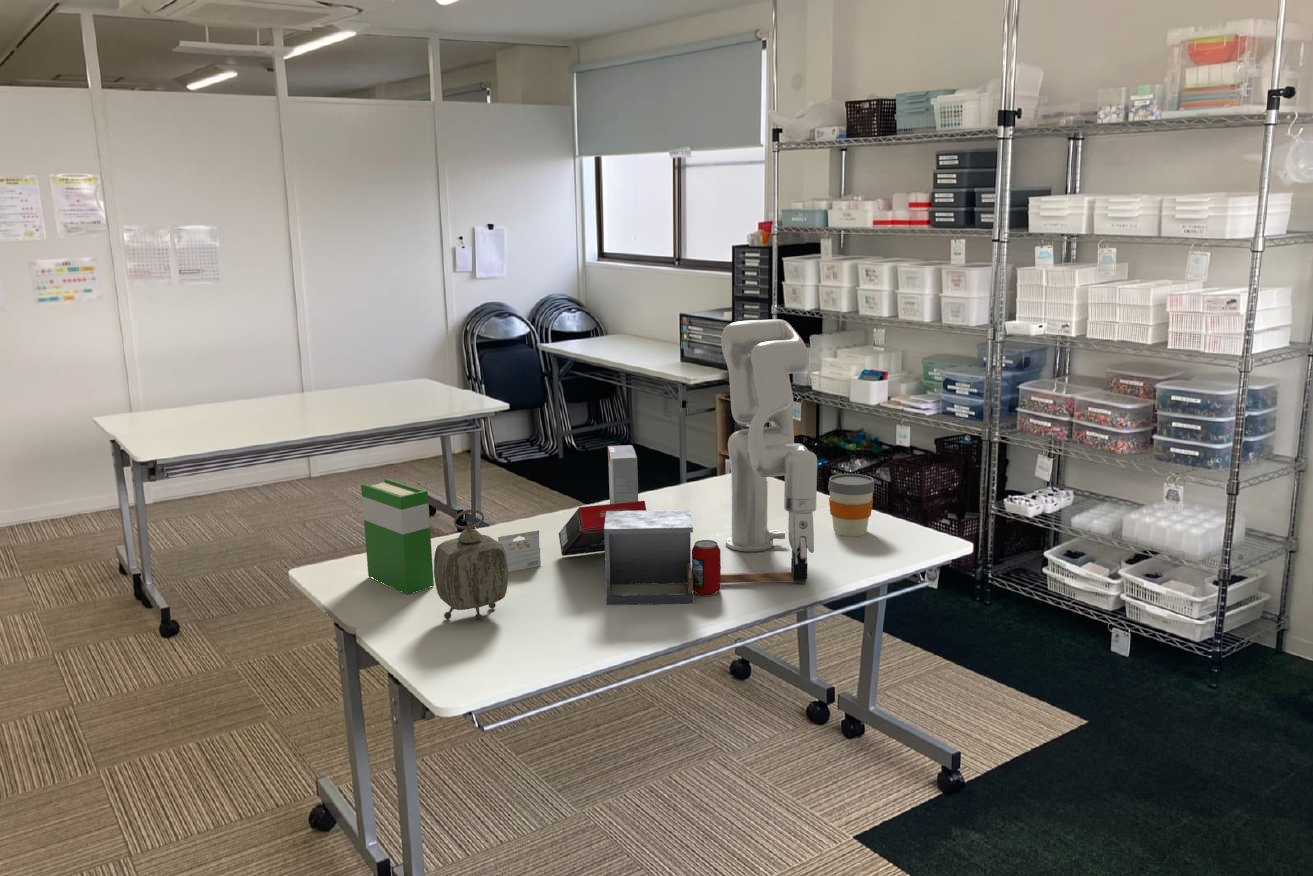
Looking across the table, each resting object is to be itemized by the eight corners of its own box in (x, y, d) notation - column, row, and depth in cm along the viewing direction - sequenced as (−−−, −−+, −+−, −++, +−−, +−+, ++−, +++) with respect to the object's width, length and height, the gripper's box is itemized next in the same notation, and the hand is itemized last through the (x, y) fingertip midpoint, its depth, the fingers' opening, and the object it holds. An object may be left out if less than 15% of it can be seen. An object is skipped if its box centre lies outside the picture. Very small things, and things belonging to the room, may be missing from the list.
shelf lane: (690, 581, 251) (690, 509, 247) (693, 603, 237) (692, 527, 233) (608, 583, 251) (606, 511, 247) (606, 605, 237) (604, 529, 233)
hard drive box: (609, 510, 312) (607, 445, 307) (634, 509, 312) (633, 444, 308) (613, 525, 297) (611, 457, 292) (639, 524, 297) (638, 456, 293)
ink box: (496, 571, 261) (494, 534, 259) (537, 564, 266) (536, 527, 264) (499, 574, 259) (497, 537, 257) (541, 566, 264) (539, 530, 262)
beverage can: (690, 587, 247) (689, 539, 245) (717, 586, 248) (717, 538, 245) (694, 598, 241) (693, 548, 238) (722, 596, 241) (722, 547, 239)
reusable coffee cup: (838, 540, 280) (839, 486, 277) (820, 526, 292) (821, 475, 289) (880, 536, 283) (882, 483, 280) (861, 523, 295) (862, 472, 292)
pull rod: (804, 578, 250) (804, 547, 249) (811, 595, 239) (812, 562, 238) (686, 581, 250) (686, 549, 248) (688, 598, 239) (688, 565, 237)
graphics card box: (619, 526, 278) (645, 496, 253) (624, 551, 276) (650, 524, 251) (557, 533, 272) (577, 504, 248) (561, 559, 270) (581, 532, 246)
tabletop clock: (496, 604, 238) (491, 500, 233) (513, 617, 231) (508, 509, 226) (436, 618, 231) (429, 511, 225) (452, 632, 223) (445, 521, 218)
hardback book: (368, 577, 258) (360, 484, 252) (394, 570, 263) (387, 478, 258) (407, 595, 246) (400, 497, 240) (433, 586, 251) (427, 490, 245)
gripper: (822, 512, 237) (820, 588, 241) (810, 493, 253) (809, 564, 257) (789, 513, 237) (788, 589, 241) (779, 493, 253) (779, 565, 257)
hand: (799, 575), depth 249 cm, fingers open, 3 cm apart
